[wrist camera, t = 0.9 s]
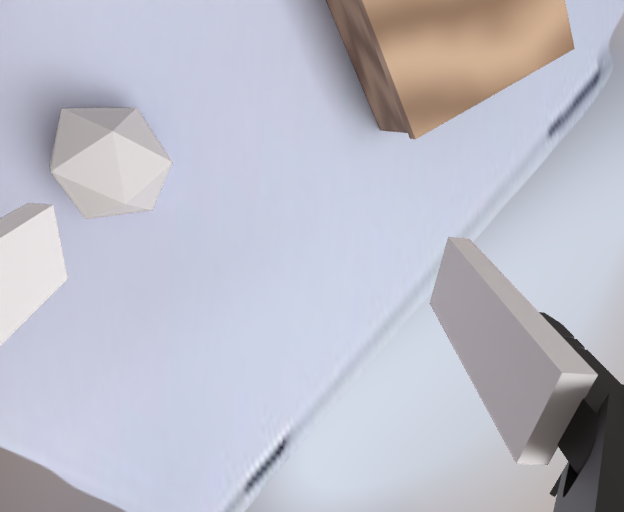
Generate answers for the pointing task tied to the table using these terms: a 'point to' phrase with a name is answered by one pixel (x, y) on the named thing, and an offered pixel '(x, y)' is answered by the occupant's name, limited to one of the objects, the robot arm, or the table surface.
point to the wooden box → (445, 53)
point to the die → (108, 161)
